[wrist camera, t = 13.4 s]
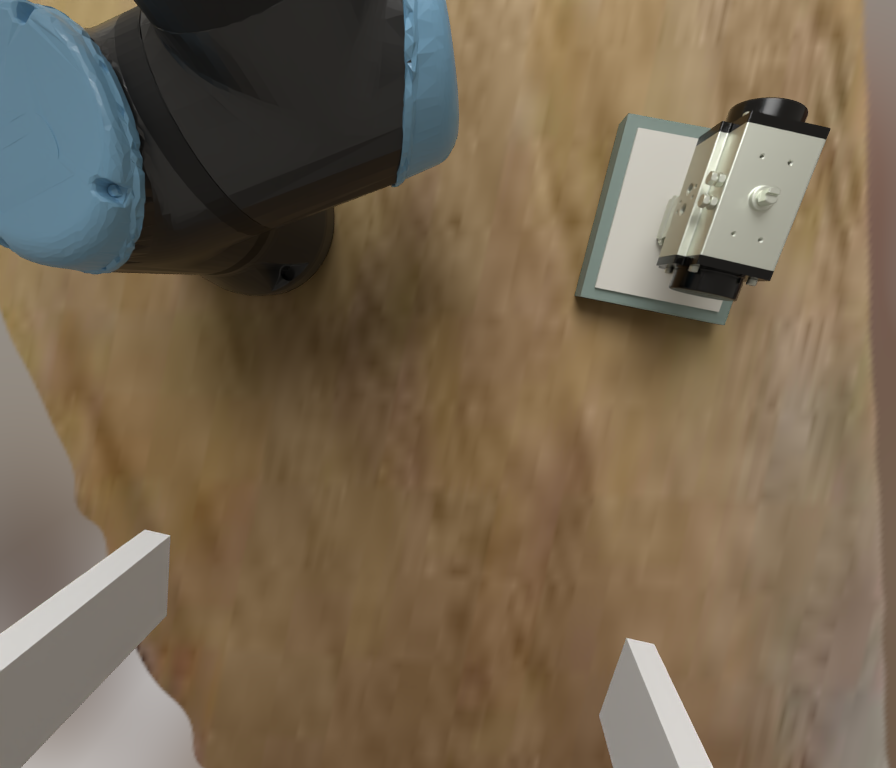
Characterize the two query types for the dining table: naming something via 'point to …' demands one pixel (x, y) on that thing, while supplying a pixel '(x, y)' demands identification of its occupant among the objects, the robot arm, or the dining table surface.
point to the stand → (642, 221)
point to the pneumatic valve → (739, 198)
